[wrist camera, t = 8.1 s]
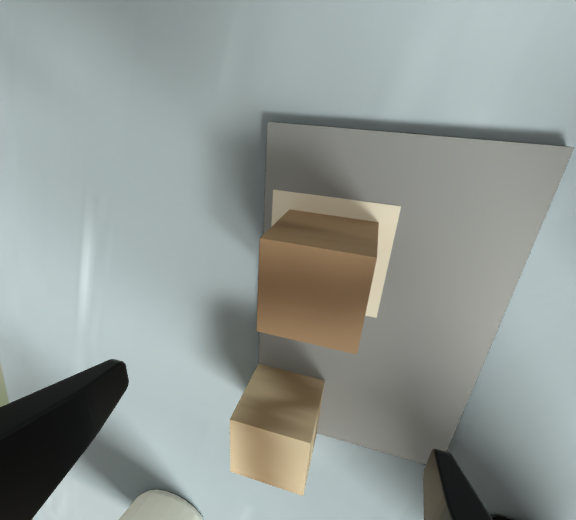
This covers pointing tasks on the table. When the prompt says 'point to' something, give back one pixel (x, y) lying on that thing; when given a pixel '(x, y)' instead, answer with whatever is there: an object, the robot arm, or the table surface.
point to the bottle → (160, 507)
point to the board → (412, 268)
